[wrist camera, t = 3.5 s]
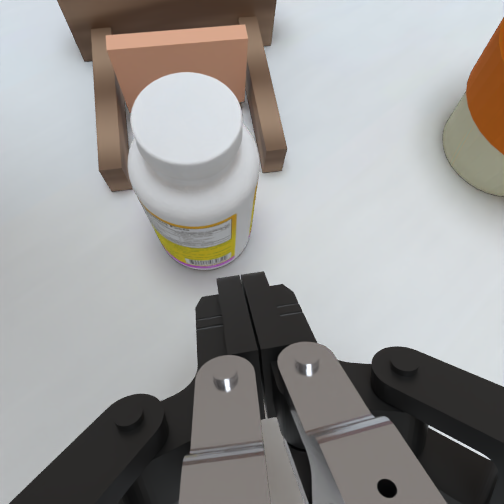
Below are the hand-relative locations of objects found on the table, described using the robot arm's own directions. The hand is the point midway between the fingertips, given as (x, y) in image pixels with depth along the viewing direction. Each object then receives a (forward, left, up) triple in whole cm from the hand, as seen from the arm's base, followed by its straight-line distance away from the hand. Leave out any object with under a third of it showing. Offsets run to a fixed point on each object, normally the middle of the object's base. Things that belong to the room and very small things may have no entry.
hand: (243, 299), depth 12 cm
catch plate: (-13, +14, -13) cm, 23 cm away
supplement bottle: (-6, +6, -14) cm, 17 cm away
